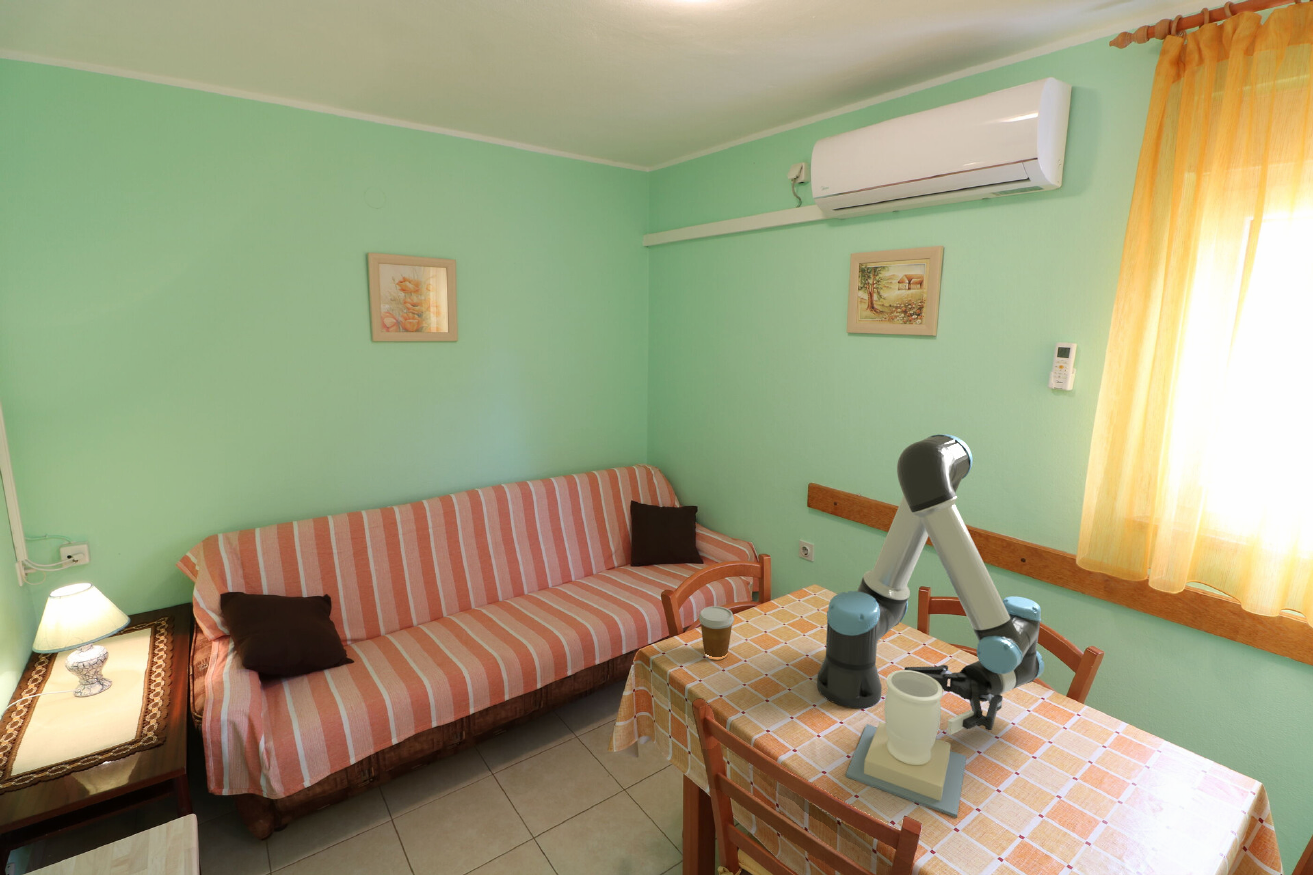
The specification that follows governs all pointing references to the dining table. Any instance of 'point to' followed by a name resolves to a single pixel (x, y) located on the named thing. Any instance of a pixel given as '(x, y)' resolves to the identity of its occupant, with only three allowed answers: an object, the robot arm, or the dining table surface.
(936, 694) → the jar
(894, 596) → the robot arm
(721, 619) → the disposable coffee cup
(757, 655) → the dining table surface
